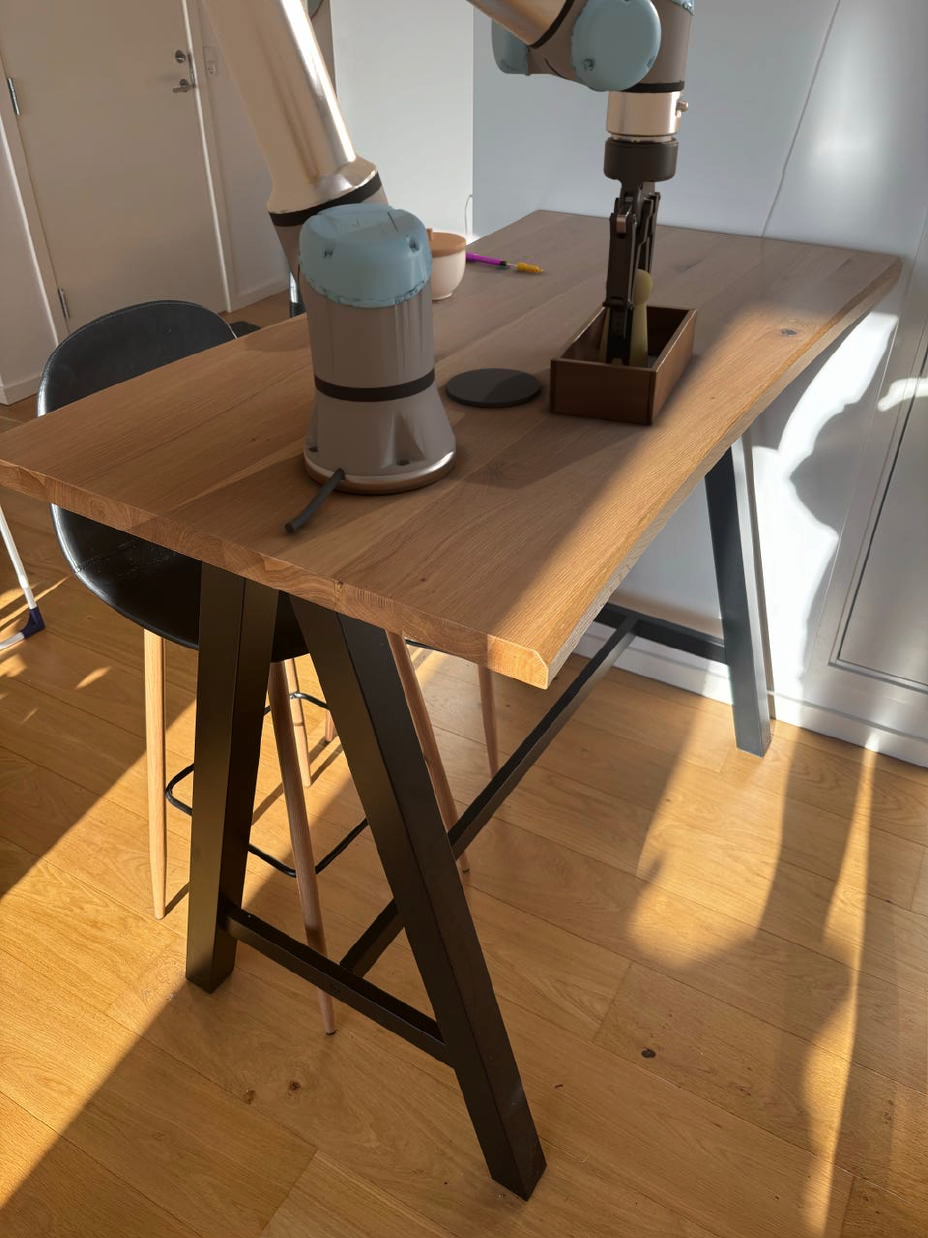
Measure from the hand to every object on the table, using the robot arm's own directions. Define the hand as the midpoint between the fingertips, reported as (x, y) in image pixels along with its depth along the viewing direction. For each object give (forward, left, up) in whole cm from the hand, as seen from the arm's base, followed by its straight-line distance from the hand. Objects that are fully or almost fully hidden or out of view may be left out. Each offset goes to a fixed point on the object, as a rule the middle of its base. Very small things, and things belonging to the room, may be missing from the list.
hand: (622, 357), depth 114 cm
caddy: (0, 0, -3) cm, 3 cm away
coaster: (-7, +14, -3) cm, 16 cm away
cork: (0, 0, -1) cm, 1 cm away
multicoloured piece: (+44, +31, -3) cm, 54 cm away
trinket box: (+26, +36, -3) cm, 44 cm away
